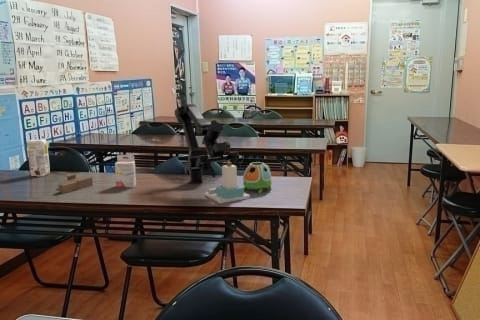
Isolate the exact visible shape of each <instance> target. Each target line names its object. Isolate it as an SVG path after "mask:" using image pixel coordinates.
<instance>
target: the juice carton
mask: <svg viewBox="0 0 480 320" xmlns="http://www.w3.org/2000/svg"><path fill="white" fill-rule="evenodd" d="M26 148H27V154H28V162H29V163H28V165H29V172H30V176H31V177H32V176H37V177H46V176H48V175H50V174H51V173H50V171H51V170H50V169H51V167H50V158H49V149H48V148H49V147H48V142H47V139H46V138H44V139H43V138H42V139H37V138H36V139H30V140H27V147H26ZM45 175H46V176H45Z"/></svg>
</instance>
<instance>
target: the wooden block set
mask: <svg viewBox="0 0 480 320" xmlns="http://www.w3.org/2000/svg"><path fill="white" fill-rule="evenodd" d="M66 179H67V180H65V181H61V182H60V183H59V184H58V190H59V193H60V194H61V193H64V194H67V192H68V193H70V191H71V192H74V191H79V190H83V189H86V188H89V186H90V187H92V186H93V185H94V183H93V182H94V181H93V177H92V176H88V175H85V176H80V177H77V175H76V174H75V173H69V172H68V173H66ZM82 188H83V189H82Z"/></svg>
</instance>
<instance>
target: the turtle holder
mask: <svg viewBox="0 0 480 320" xmlns="http://www.w3.org/2000/svg"><path fill="white" fill-rule="evenodd" d="M272 178H273V177H272V172H271V169H270V166H269V165H268V164H265V163H264V162H260V161H256V162H254V161H253V162H251V163H249V165H248V166H247V167H246V169H245V170H244V173H243V176H242V179H243V182H242V184H243V188H244V191H248V189H251V190H258V191H257V194H261V193H263V192H264V191H263V189H267V188H268V190H269V191H271V190H272V188H273V187H272V183H273V182H272Z"/></svg>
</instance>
